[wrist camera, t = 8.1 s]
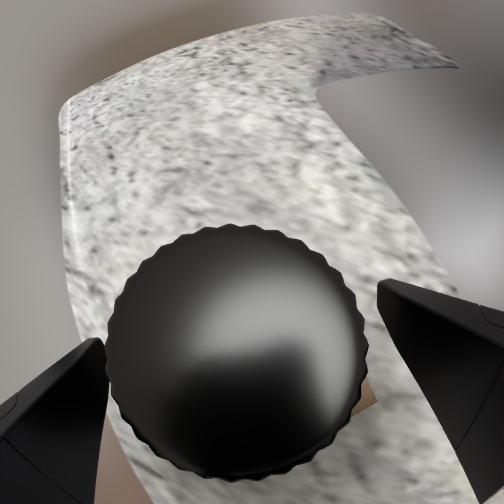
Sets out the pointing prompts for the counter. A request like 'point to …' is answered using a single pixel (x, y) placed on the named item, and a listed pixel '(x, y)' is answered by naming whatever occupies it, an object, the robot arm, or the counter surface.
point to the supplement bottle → (236, 353)
